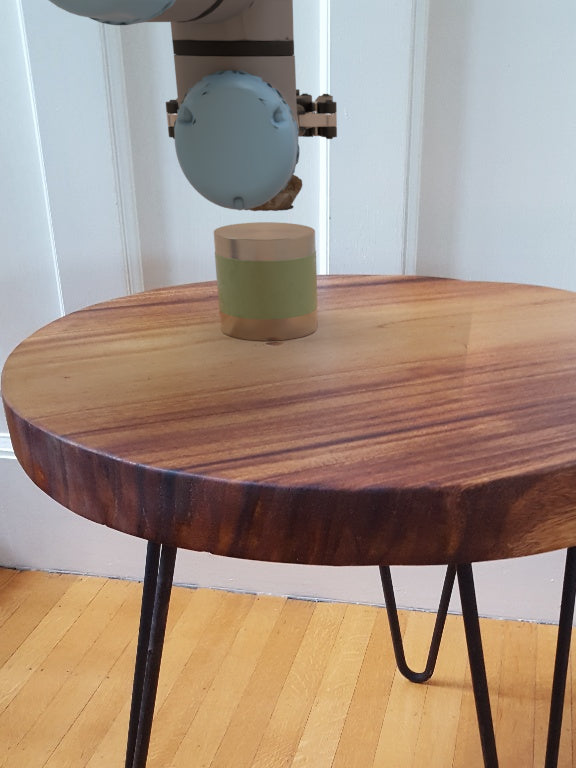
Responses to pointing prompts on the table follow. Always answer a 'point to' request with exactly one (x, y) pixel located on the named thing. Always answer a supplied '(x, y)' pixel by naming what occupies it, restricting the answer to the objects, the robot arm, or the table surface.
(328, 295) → the table surface
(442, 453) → the table surface
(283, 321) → the tin can
